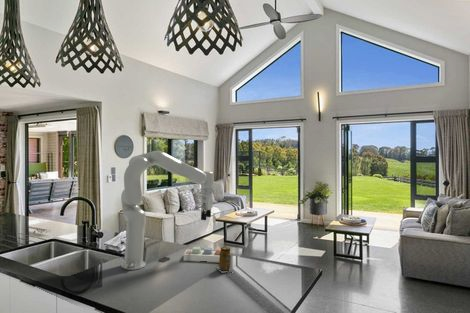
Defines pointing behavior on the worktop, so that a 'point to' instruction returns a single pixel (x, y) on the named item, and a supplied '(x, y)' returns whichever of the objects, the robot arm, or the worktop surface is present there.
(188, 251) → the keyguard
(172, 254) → the worktop surface
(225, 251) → the condiment
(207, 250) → the key slate
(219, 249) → the orange cube
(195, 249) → the key sage
